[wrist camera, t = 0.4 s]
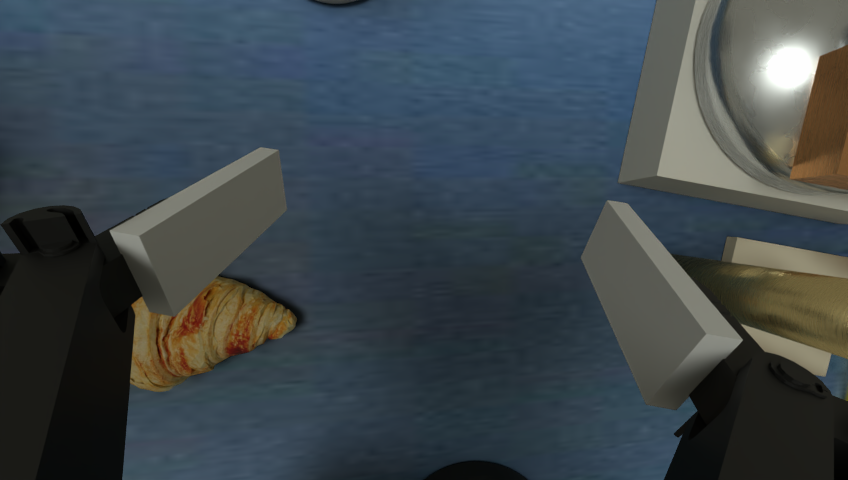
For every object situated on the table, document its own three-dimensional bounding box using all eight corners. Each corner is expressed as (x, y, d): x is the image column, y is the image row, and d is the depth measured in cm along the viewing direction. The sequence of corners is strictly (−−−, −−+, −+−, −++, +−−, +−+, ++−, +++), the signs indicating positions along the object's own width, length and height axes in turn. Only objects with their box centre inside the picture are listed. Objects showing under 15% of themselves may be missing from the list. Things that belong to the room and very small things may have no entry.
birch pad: (812, 371, 31) (825, 376, 30) (699, 351, 31) (709, 356, 30) (841, 257, 31) (856, 259, 30) (727, 236, 30) (737, 237, 29)
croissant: (312, 278, 34) (283, 247, 27) (302, 385, 30) (264, 383, 23) (100, 287, 33) (11, 258, 26) (60, 397, 29) (-60, 400, 22)
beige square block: (839, 223, 30) (921, 224, 25) (617, 182, 30) (656, 175, 25) (899, -11, 29) (998, -58, 24) (669, -57, 29) (720, -115, 24)
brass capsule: (674, 298, 31) (947, 384, 15) (632, 291, 31) (862, 369, 15) (683, 256, 31) (971, 297, 15) (641, 249, 30) (884, 281, 14)
